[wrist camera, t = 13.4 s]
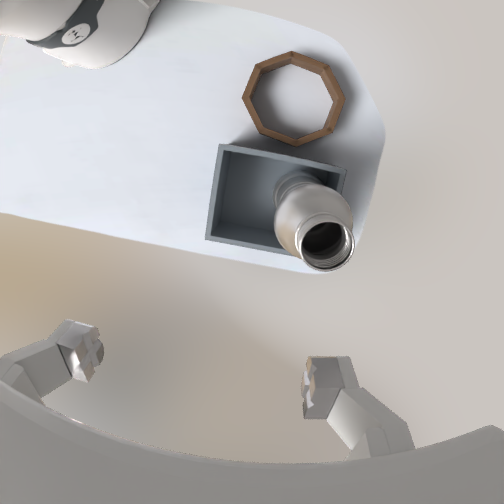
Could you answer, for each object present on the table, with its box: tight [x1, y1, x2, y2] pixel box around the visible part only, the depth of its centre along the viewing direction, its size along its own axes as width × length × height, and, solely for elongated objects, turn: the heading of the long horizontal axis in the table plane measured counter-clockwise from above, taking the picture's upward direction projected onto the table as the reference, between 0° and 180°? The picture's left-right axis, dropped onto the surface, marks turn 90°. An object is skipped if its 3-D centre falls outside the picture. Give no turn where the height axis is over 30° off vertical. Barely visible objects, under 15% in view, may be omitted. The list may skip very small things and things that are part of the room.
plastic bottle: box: [272, 170, 355, 272], centre depth 27 cm, size 6×7×20 cm
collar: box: [242, 51, 345, 147], centre depth 31 cm, size 12×12×3 cm
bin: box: [205, 144, 347, 257], centre depth 34 cm, size 14×11×7 cm
